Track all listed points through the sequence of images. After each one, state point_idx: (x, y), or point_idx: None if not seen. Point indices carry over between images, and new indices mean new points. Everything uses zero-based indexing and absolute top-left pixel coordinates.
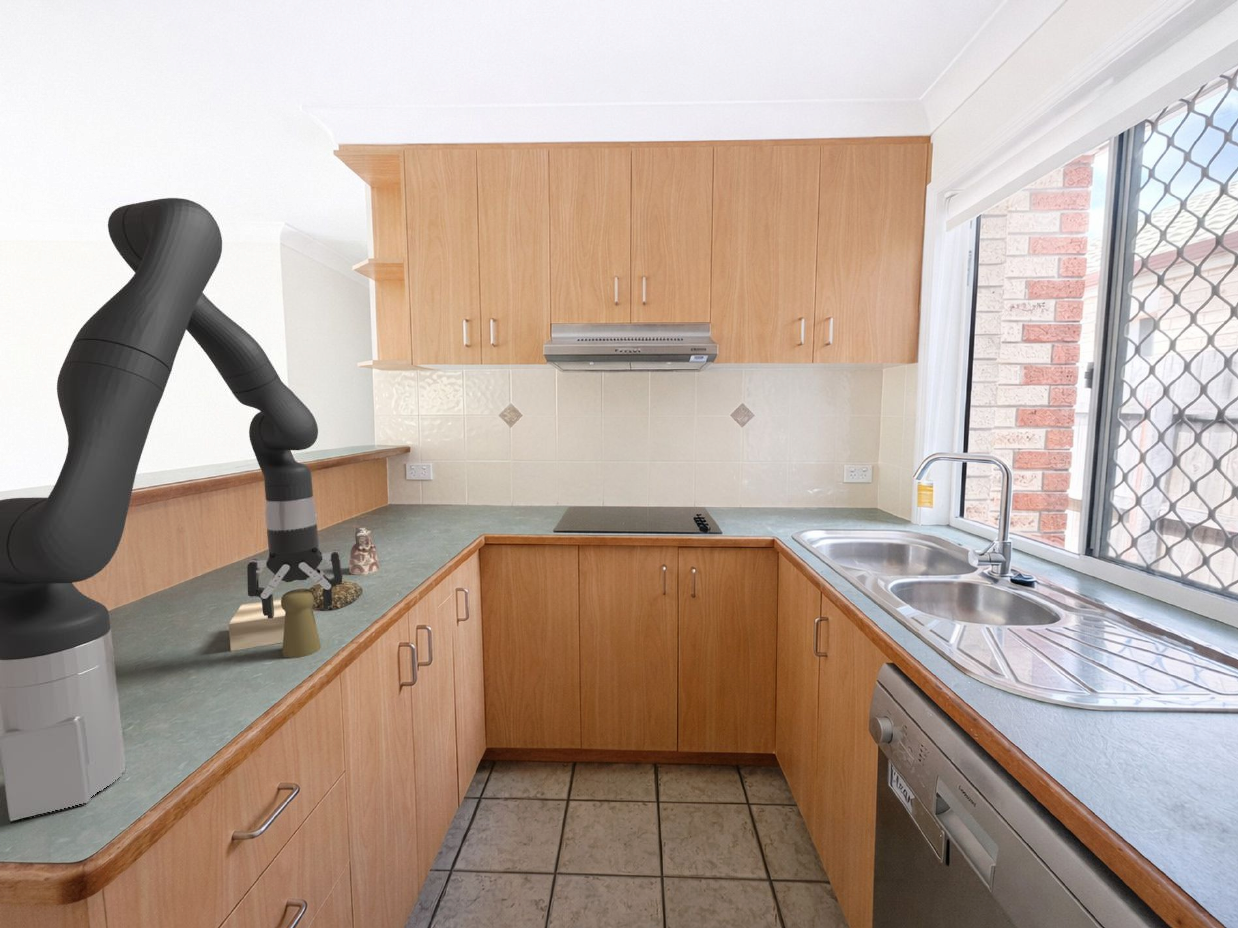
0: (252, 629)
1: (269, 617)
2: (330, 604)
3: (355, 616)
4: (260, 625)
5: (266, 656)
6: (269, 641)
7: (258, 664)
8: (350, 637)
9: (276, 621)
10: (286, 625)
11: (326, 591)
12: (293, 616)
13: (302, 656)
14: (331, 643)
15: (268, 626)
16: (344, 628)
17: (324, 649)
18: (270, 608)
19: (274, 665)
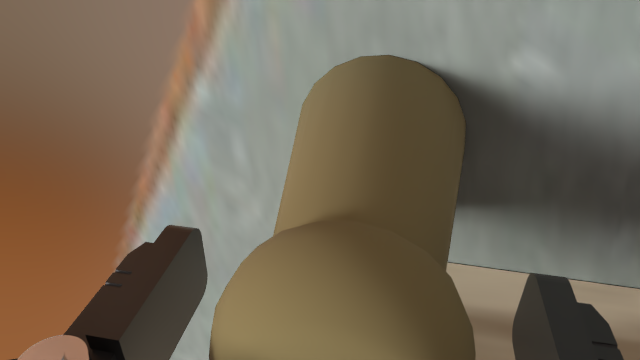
0: None
1: (554, 277)
2: (145, 247)
3: (205, 341)
4: None
5: (534, 153)
6: (508, 280)
7: (583, 72)
8: (187, 163)
9: (482, 349)
10: (440, 195)
11: (94, 325)
12: (388, 206)
13: (376, 57)
14: (258, 142)
15: None
16: (227, 263)
17: (281, 89)
18: (559, 332)
19: (511, 11)
